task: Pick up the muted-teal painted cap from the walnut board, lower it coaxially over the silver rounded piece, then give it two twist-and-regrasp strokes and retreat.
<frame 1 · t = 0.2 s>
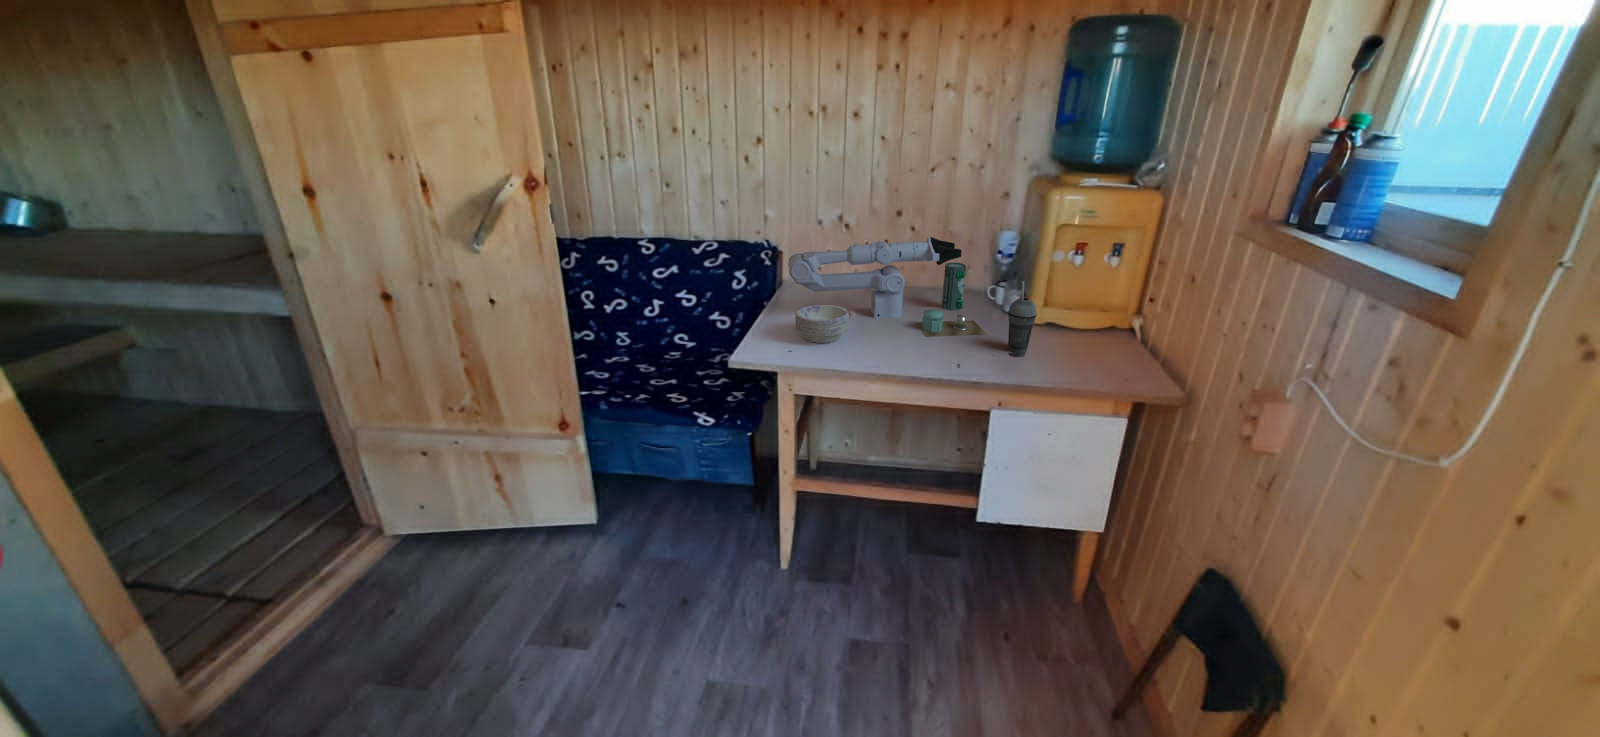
hand: (957, 249, 196), 21 cm above the table, tool horizontal, fingers open, 7 cm apart
silver rounded piece: (960, 331, 192), resting on board
paper bowls: (821, 338, 189), on the table
beverage cup: (1016, 354, 177), on the table
board: (950, 332, 192), on the table
cap: (932, 328, 191), point 1 cm above the table, touching board
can: (951, 311, 210), on the table
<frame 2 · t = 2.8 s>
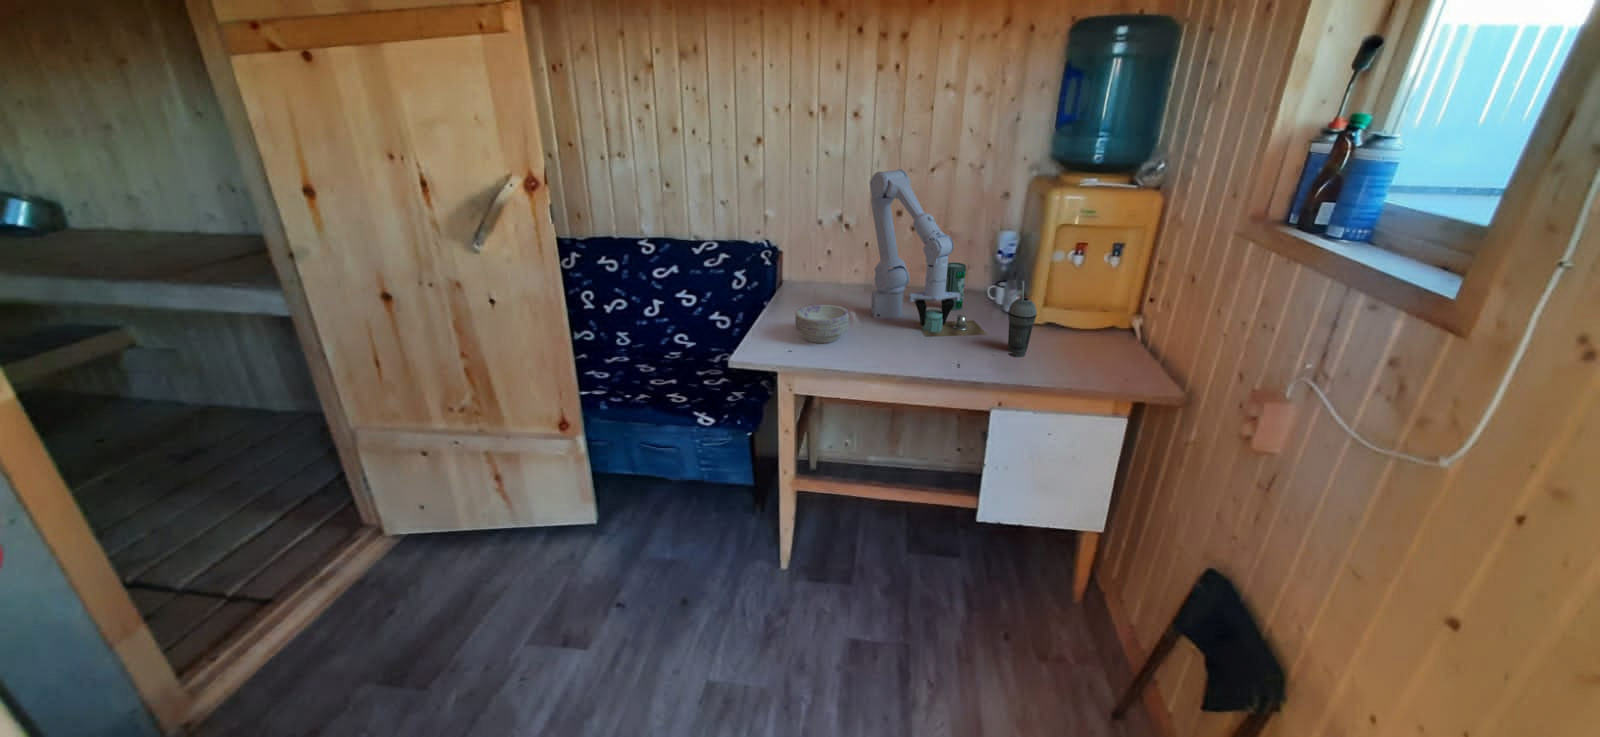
hand: (932, 324, 191), 3 cm above the table, tool pointing down, fingers closed on cap, 5 cm apart
cap: (932, 328, 191), point 1 cm above the table, touching board, gripper
everything else where it was.
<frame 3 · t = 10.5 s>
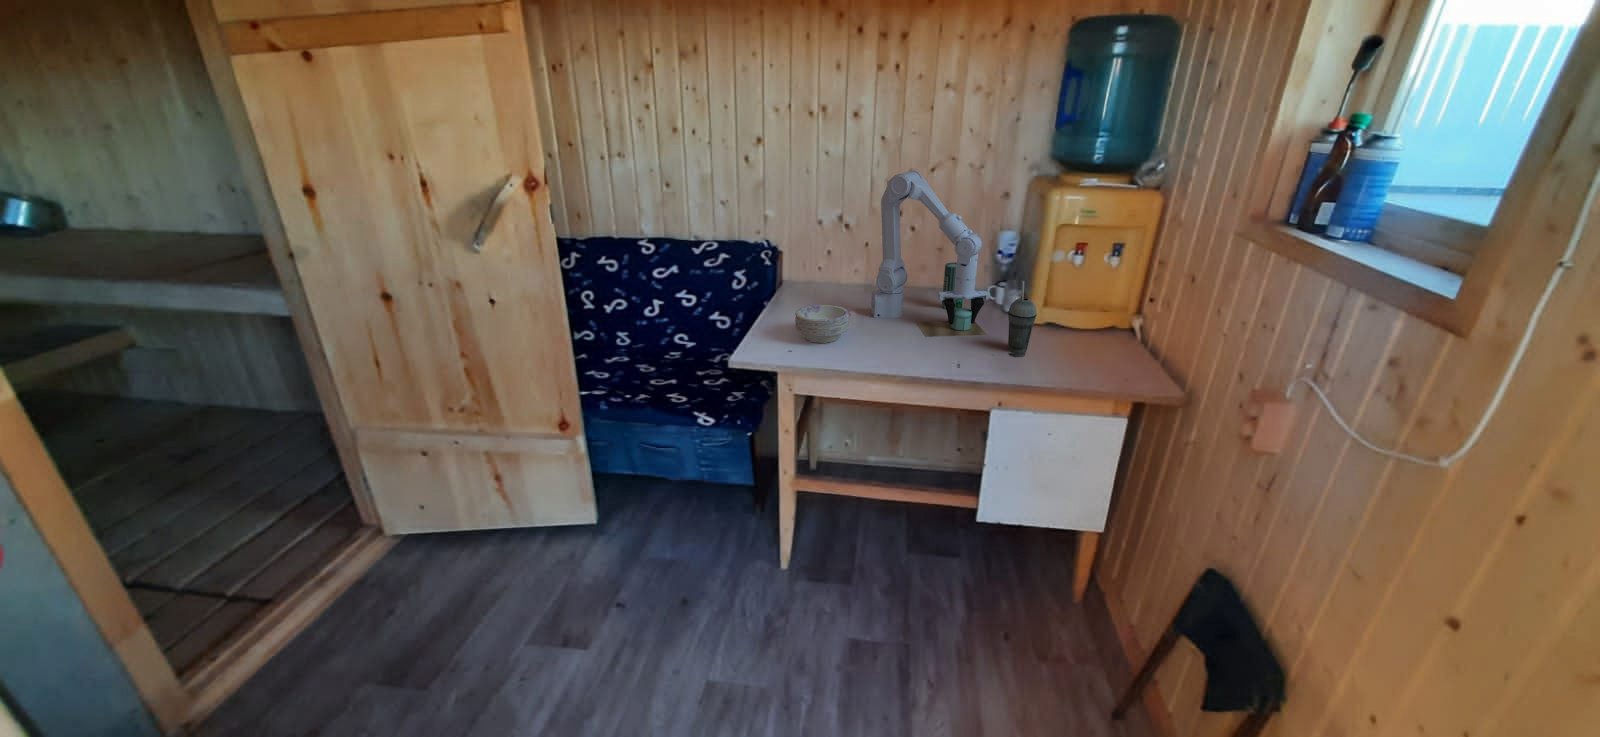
hand: (961, 322, 191), 3 cm above the table, tool pointing down, fingers closed on cap, 6 cm apart
cap: (960, 327, 192), point 2 cm above the table, touching gripper, silver rounded piece
everything else where it was.
when the fingers open (3 cm above the table, at t = 12.2 s): cap stays where it is, resting on silver rounded piece.
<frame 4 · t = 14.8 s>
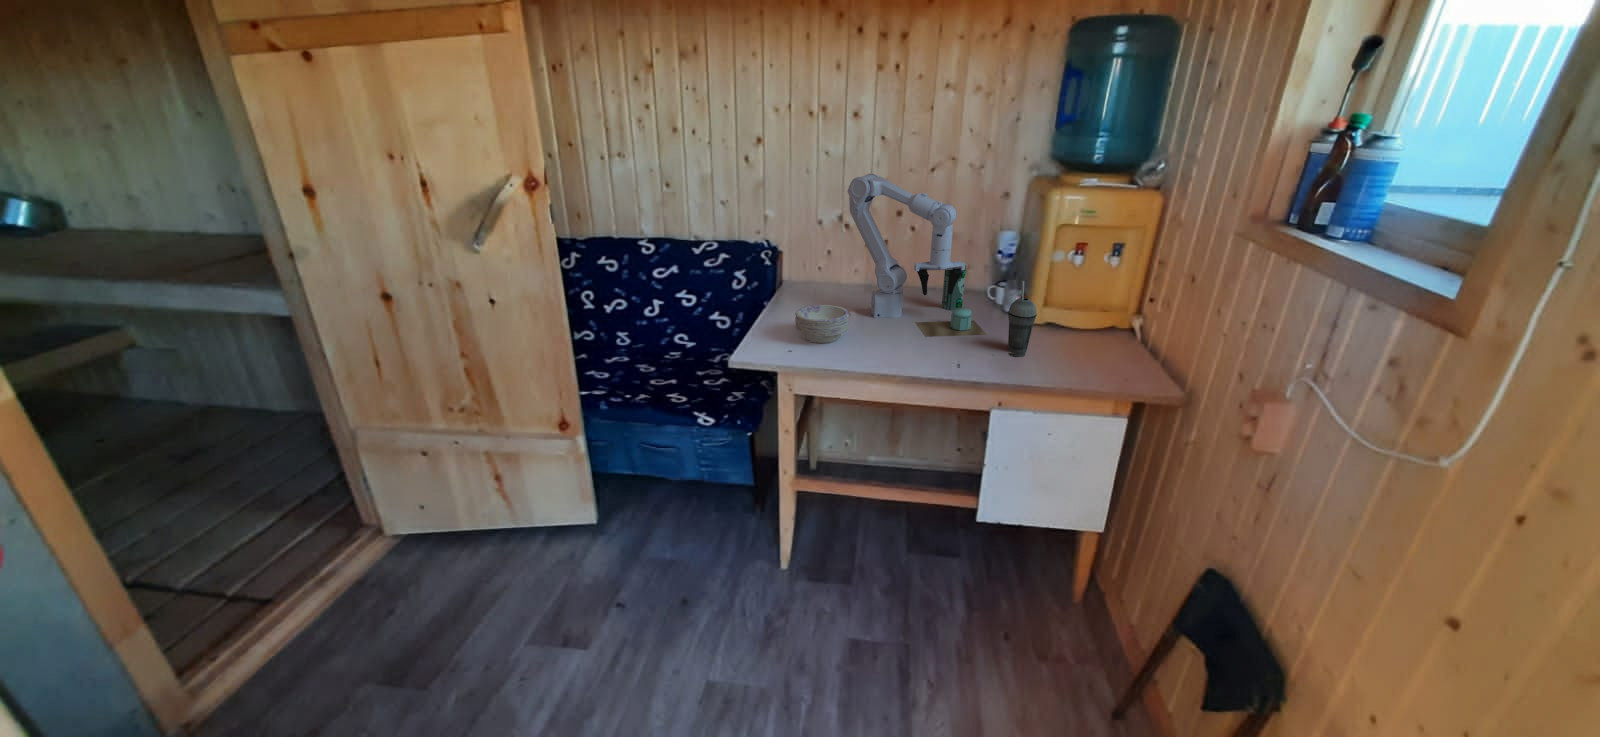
hand: (937, 293, 193), 10 cm above the table, tool pointing down, fingers open, 7 cm apart
cap: (960, 327, 192), point 1 cm above the table, touching silver rounded piece
everything else where it was.
at the end: cap 0.1 cm off-centre on the silver rounded piece, point 1.5 cm above the silver rounded piece's base; cap tilted 0°; the gripper is holding nothing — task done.
